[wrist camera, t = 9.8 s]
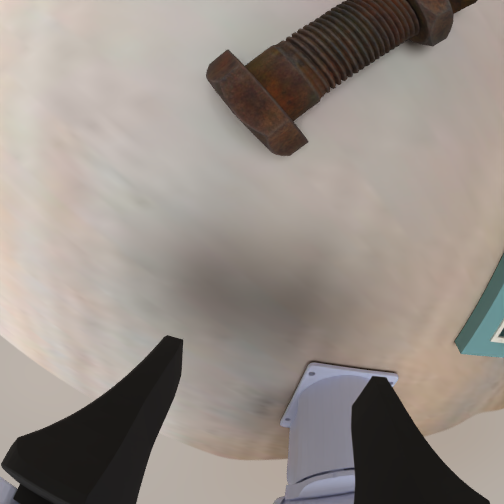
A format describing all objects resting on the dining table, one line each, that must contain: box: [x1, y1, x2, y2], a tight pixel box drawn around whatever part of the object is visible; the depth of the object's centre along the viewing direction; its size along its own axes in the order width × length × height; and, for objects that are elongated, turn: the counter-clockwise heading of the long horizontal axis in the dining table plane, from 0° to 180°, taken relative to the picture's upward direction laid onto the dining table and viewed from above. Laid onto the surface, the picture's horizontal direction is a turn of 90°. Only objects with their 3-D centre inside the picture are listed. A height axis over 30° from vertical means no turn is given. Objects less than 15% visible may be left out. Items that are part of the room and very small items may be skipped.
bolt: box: [206, 0, 477, 156], centre depth 11 cm, size 6×5×15 cm
